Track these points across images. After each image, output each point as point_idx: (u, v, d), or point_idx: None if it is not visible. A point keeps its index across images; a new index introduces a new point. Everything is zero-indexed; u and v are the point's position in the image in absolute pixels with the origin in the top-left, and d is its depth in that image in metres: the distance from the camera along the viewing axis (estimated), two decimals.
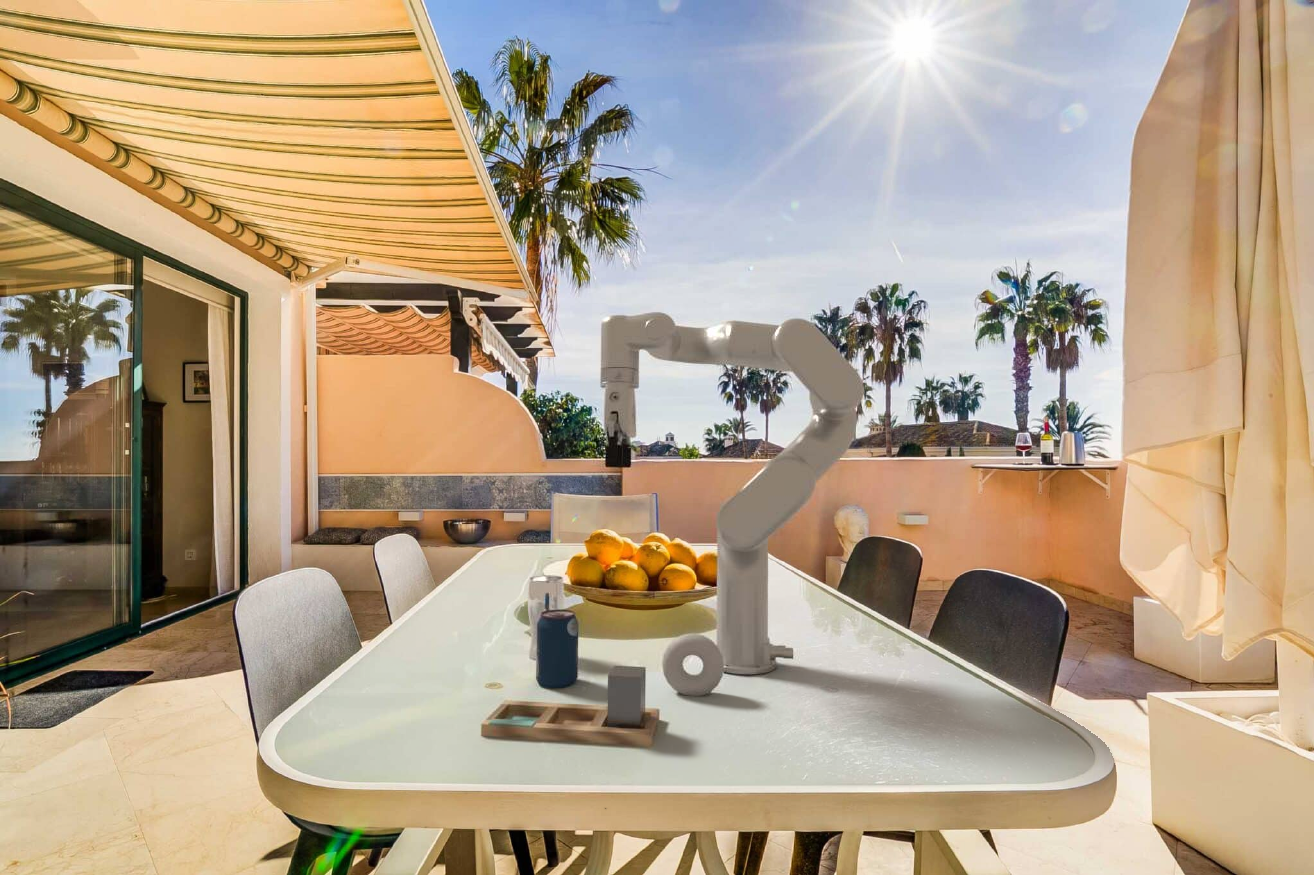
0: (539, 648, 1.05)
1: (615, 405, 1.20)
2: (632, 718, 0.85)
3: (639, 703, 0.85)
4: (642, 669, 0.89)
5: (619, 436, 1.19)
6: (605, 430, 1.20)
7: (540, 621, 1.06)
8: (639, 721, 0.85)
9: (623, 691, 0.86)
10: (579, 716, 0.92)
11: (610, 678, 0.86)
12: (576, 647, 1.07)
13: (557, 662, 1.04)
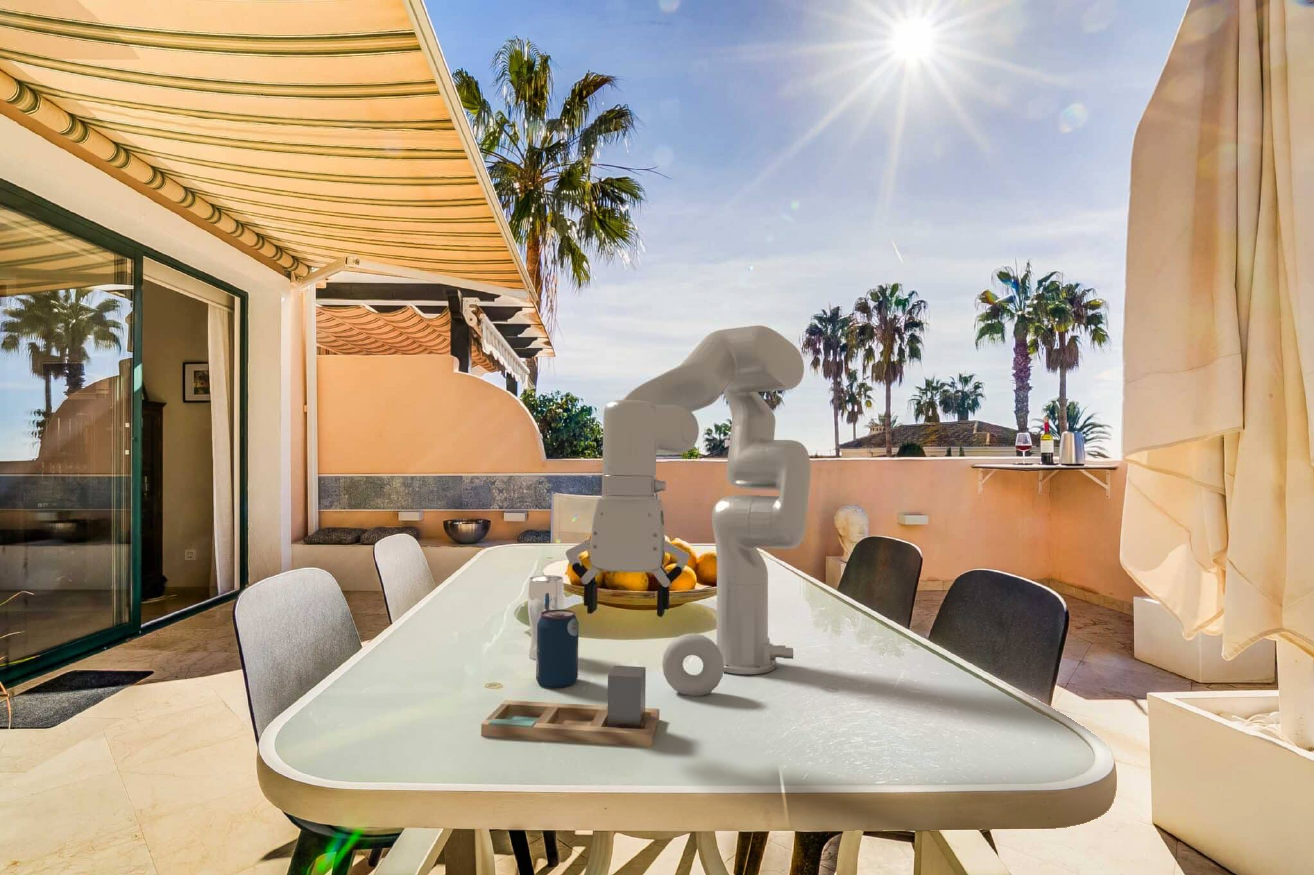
0: (539, 647, 1.05)
1: (663, 529, 0.89)
2: (632, 718, 0.85)
3: (639, 703, 0.85)
4: (642, 669, 0.89)
5: (666, 571, 0.89)
6: (659, 565, 0.86)
7: (540, 621, 1.06)
8: (639, 721, 0.85)
9: (623, 691, 0.86)
10: (579, 716, 0.92)
11: (610, 678, 0.86)
12: (576, 647, 1.07)
13: (557, 662, 1.04)
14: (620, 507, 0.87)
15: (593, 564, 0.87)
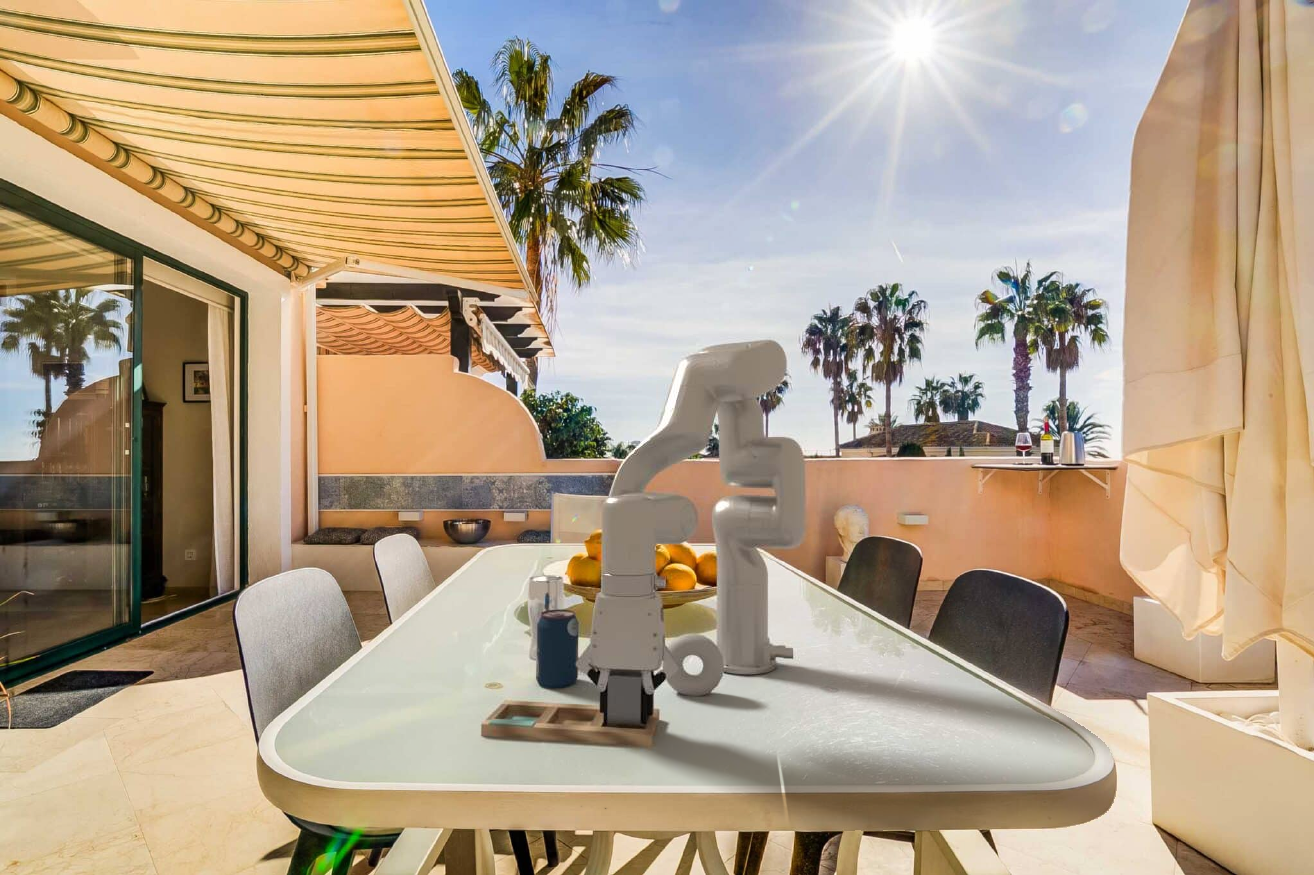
0: (539, 647, 1.05)
1: (663, 626, 0.88)
2: (632, 718, 0.85)
3: (639, 703, 0.85)
4: None
5: (654, 675, 0.89)
6: (659, 665, 0.86)
7: (540, 621, 1.06)
8: (639, 721, 0.85)
9: (623, 691, 0.86)
10: (579, 716, 0.92)
11: (610, 678, 0.86)
12: (576, 647, 1.07)
13: (557, 662, 1.04)
14: (619, 607, 0.86)
15: (593, 663, 0.87)
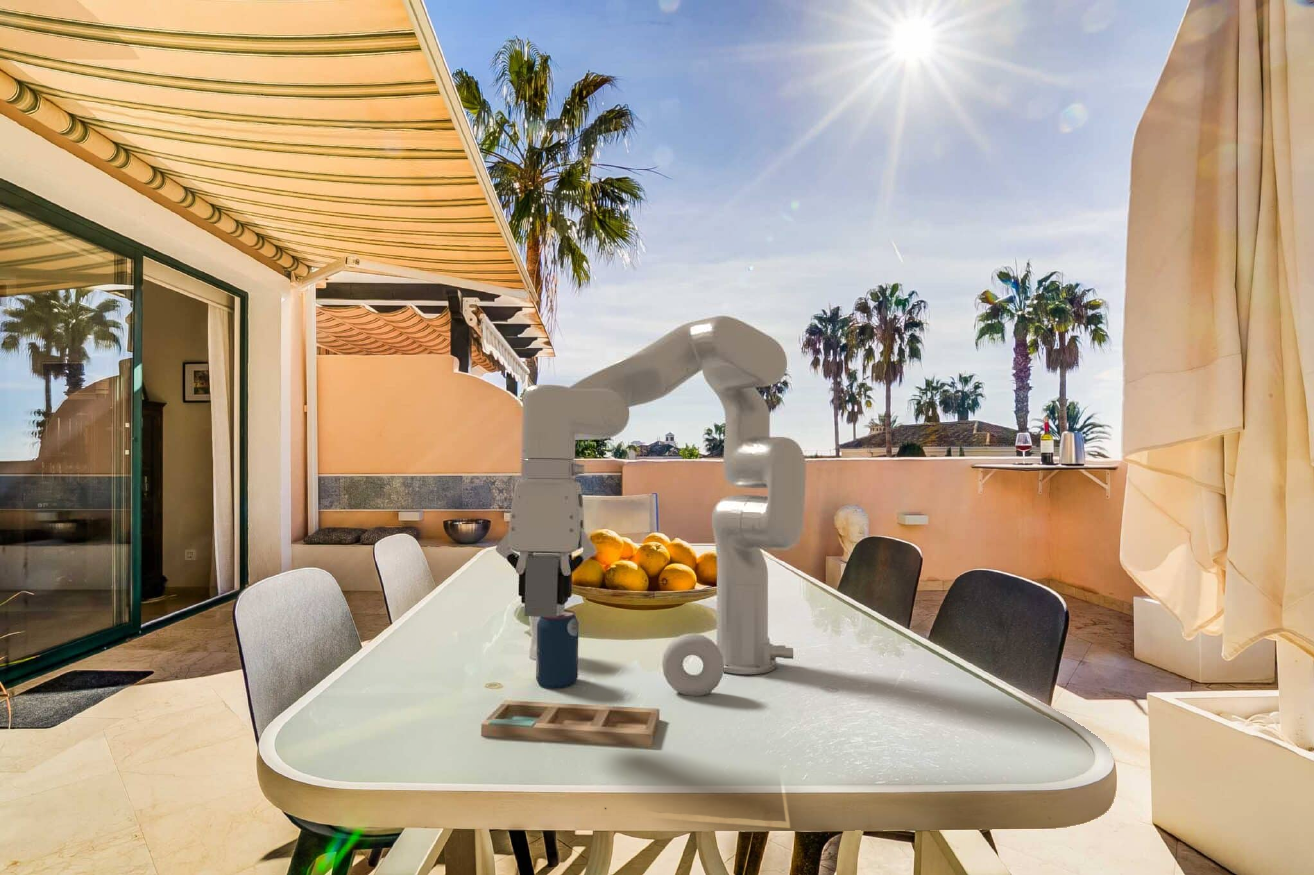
0: (539, 648, 1.05)
1: (581, 512, 0.90)
2: (549, 598, 0.88)
3: (556, 583, 0.88)
4: None
5: None
6: (576, 546, 0.88)
7: (540, 621, 1.06)
8: (555, 601, 0.87)
9: (540, 572, 0.88)
10: (579, 716, 0.92)
11: (528, 560, 0.88)
12: (576, 647, 1.07)
13: (557, 662, 1.04)
14: (537, 490, 0.88)
15: (511, 546, 0.89)
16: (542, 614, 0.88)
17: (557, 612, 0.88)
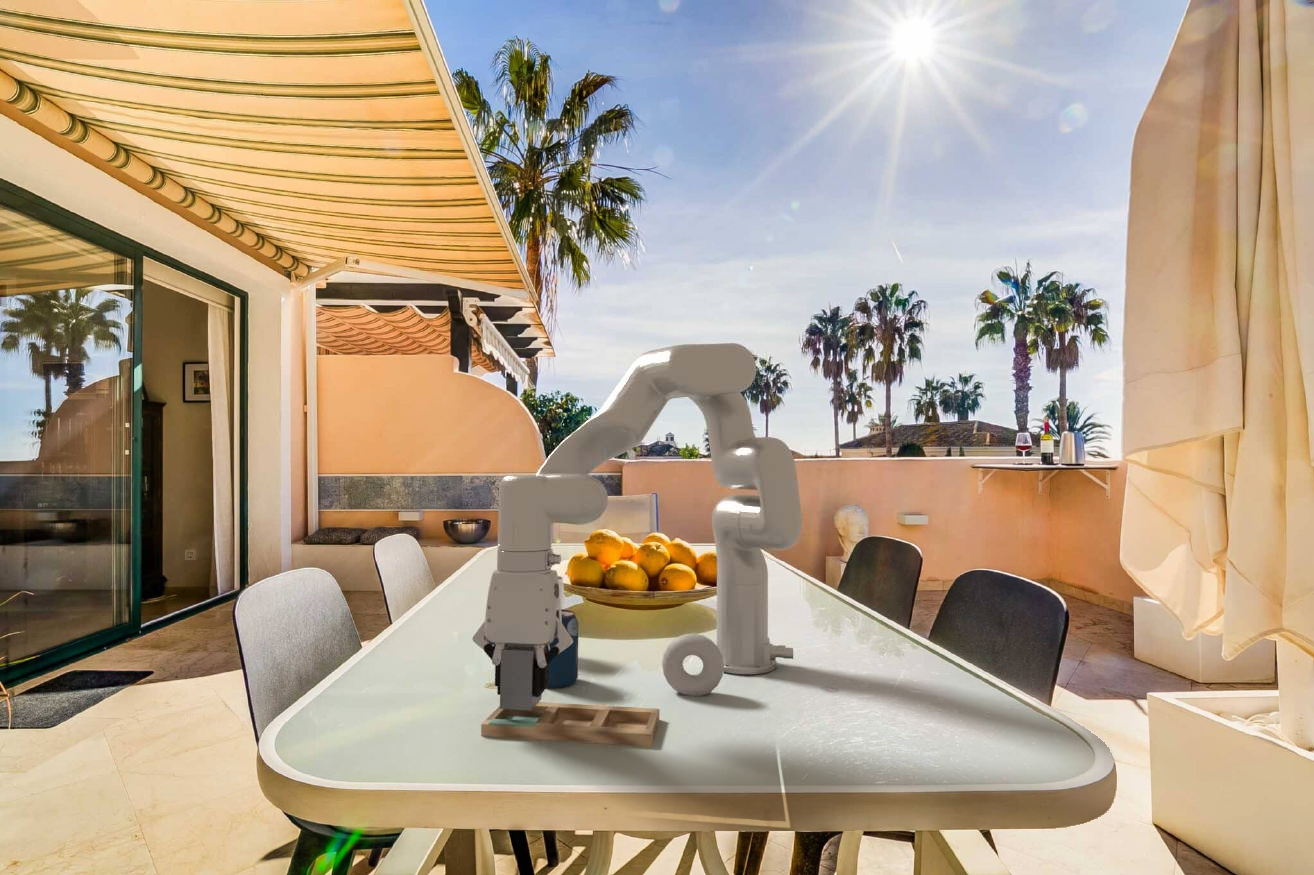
0: None
1: (557, 602, 0.90)
2: (524, 691, 0.87)
3: (531, 676, 0.87)
4: None
5: None
6: (551, 639, 0.88)
7: None
8: (530, 694, 0.87)
9: (516, 664, 0.88)
10: (579, 716, 0.92)
11: (503, 652, 0.88)
12: (576, 647, 1.07)
13: (557, 662, 1.04)
14: (512, 582, 0.88)
15: (487, 637, 0.89)
16: (517, 707, 0.87)
17: (532, 705, 0.88)
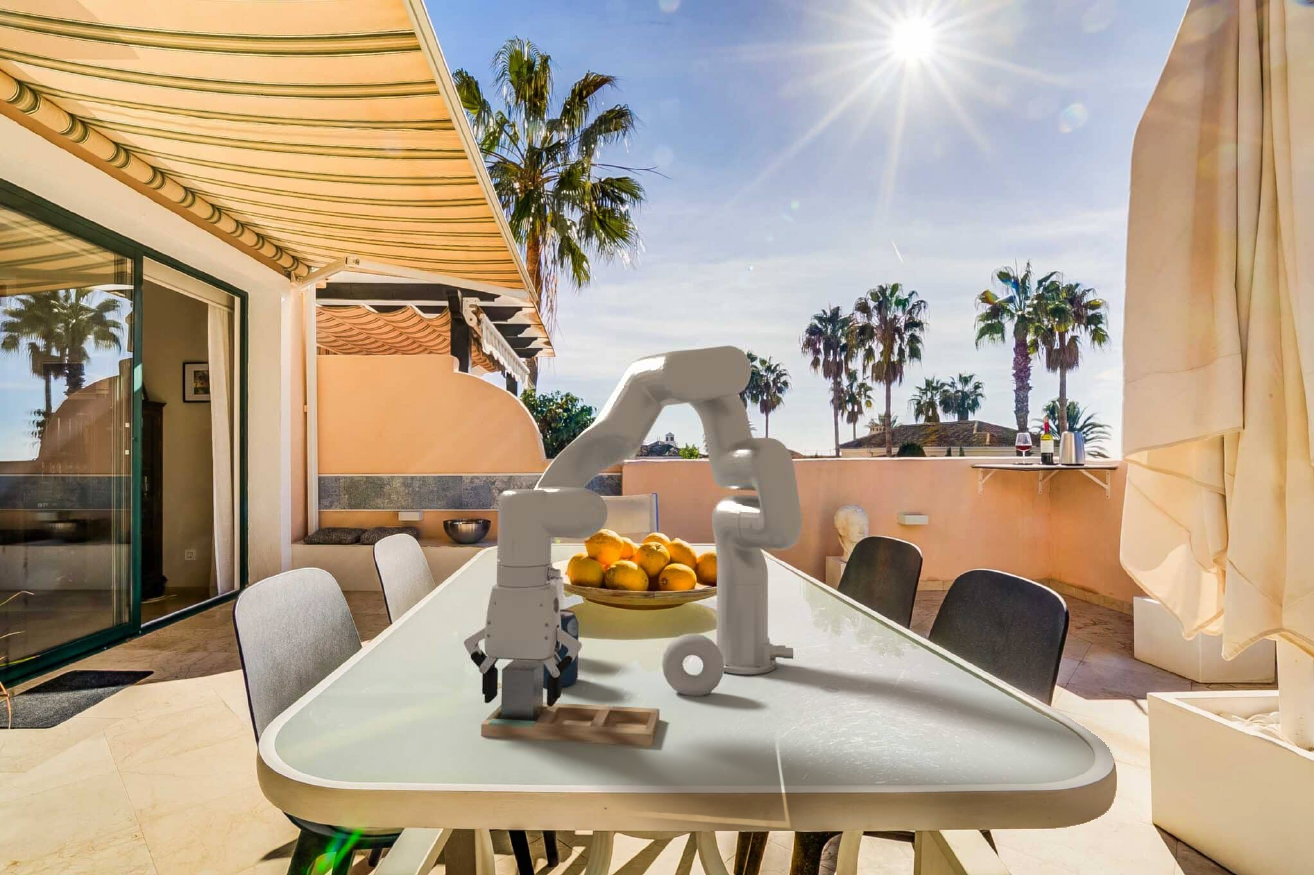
0: None
1: (557, 616, 0.90)
2: (525, 711, 0.87)
3: (532, 696, 0.87)
4: (539, 663, 0.91)
5: (559, 659, 0.90)
6: (551, 654, 0.88)
7: None
8: (531, 714, 0.87)
9: (517, 684, 0.88)
10: (579, 716, 0.92)
11: (504, 672, 0.88)
12: None
13: None
14: (512, 597, 0.88)
15: (487, 652, 0.89)
16: None
17: None
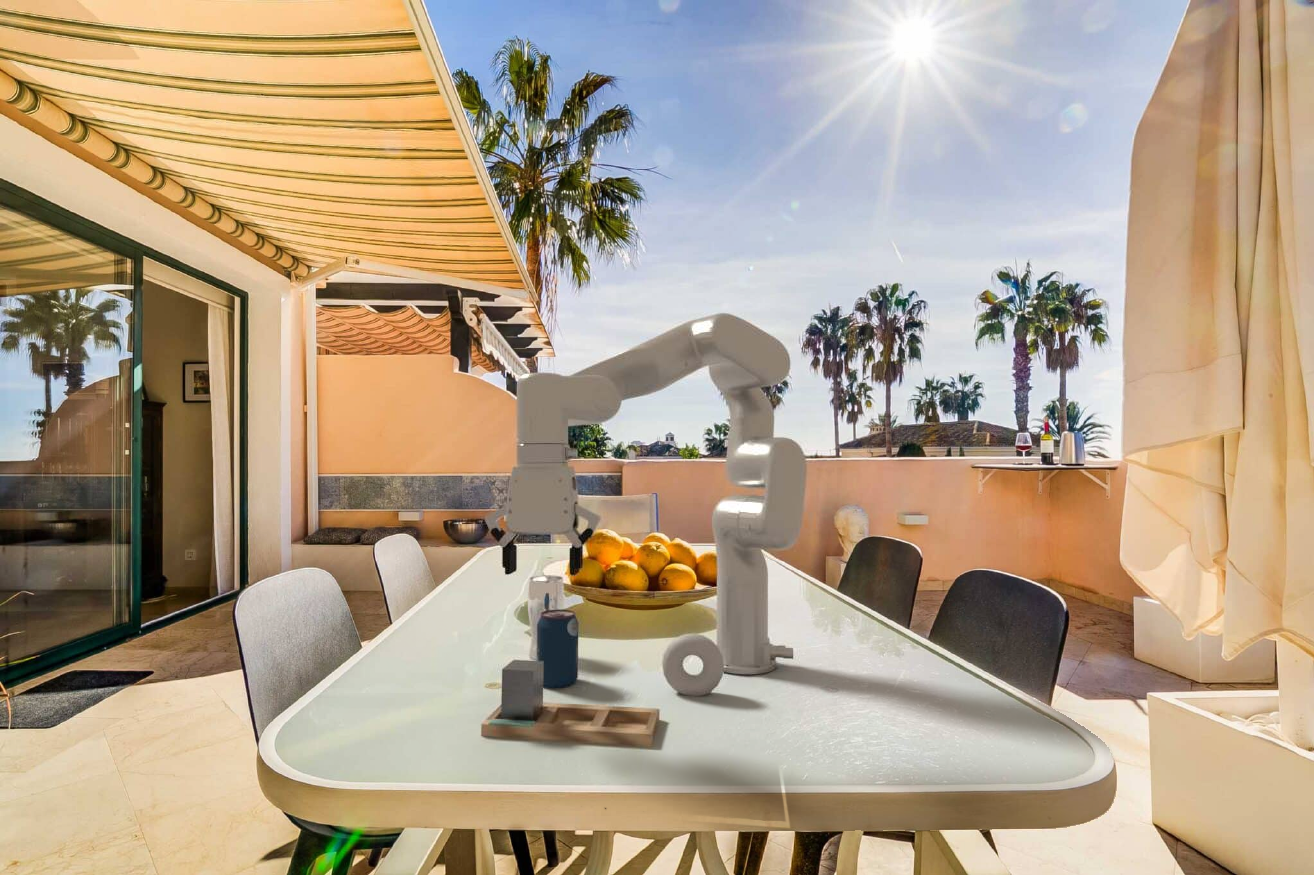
0: (539, 648, 1.05)
1: (575, 494, 0.94)
2: (525, 711, 0.87)
3: (532, 696, 0.87)
4: (539, 663, 0.91)
5: (579, 533, 0.95)
6: (570, 527, 0.92)
7: (540, 621, 1.06)
8: (531, 714, 0.87)
9: (517, 684, 0.88)
10: (579, 716, 0.92)
11: (504, 672, 0.88)
12: (576, 647, 1.07)
13: (557, 662, 1.04)
14: (532, 474, 0.92)
15: (509, 528, 0.93)
16: None
17: None
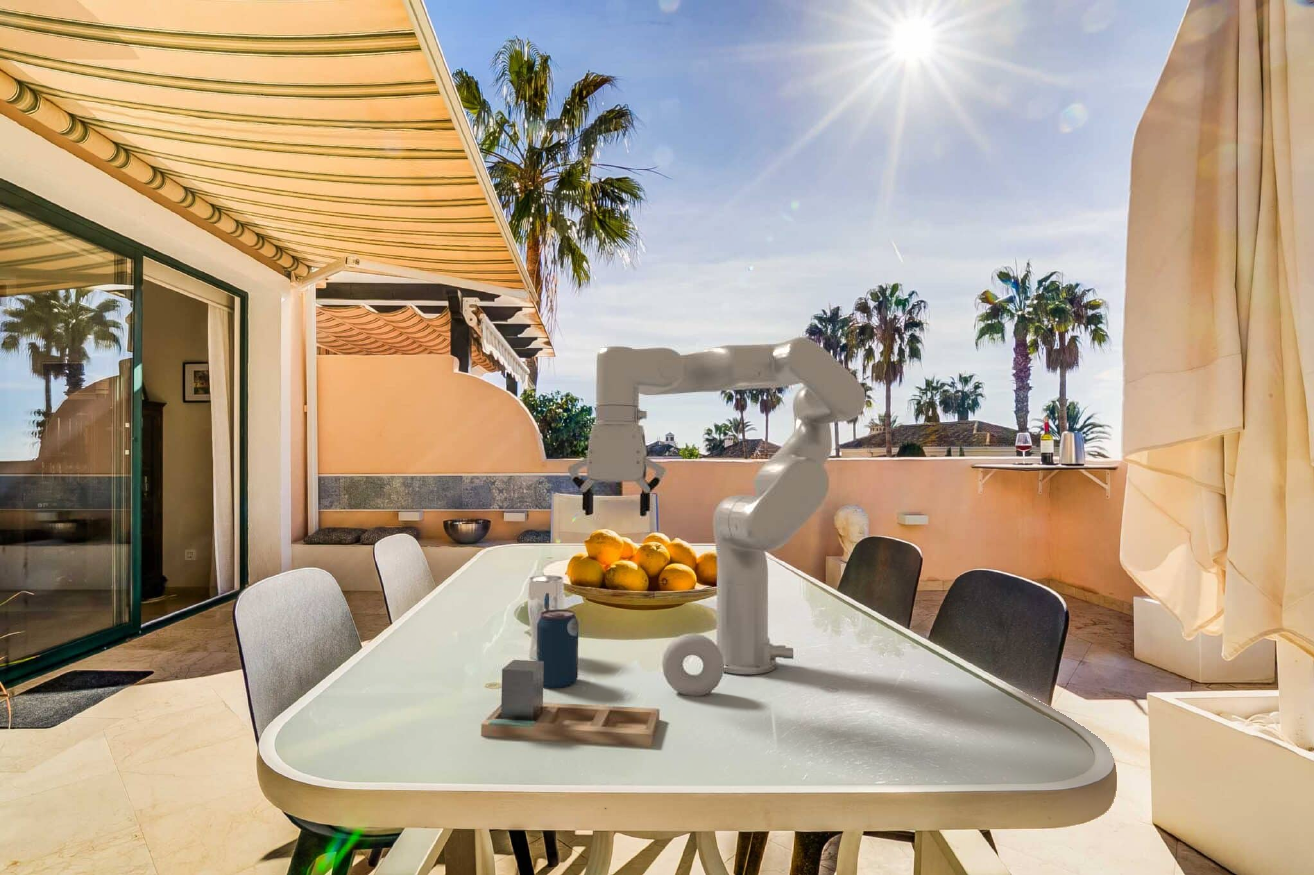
0: (539, 648, 1.05)
1: (645, 449, 1.12)
2: (525, 711, 0.87)
3: (532, 696, 0.87)
4: (539, 663, 0.91)
5: (647, 482, 1.12)
6: (641, 476, 1.10)
7: (540, 621, 1.06)
8: (531, 714, 0.87)
9: (517, 684, 0.88)
10: (579, 716, 0.92)
11: (504, 672, 0.88)
12: (576, 647, 1.07)
13: (557, 662, 1.04)
14: (610, 431, 1.10)
15: (589, 476, 1.11)
16: None
17: None
